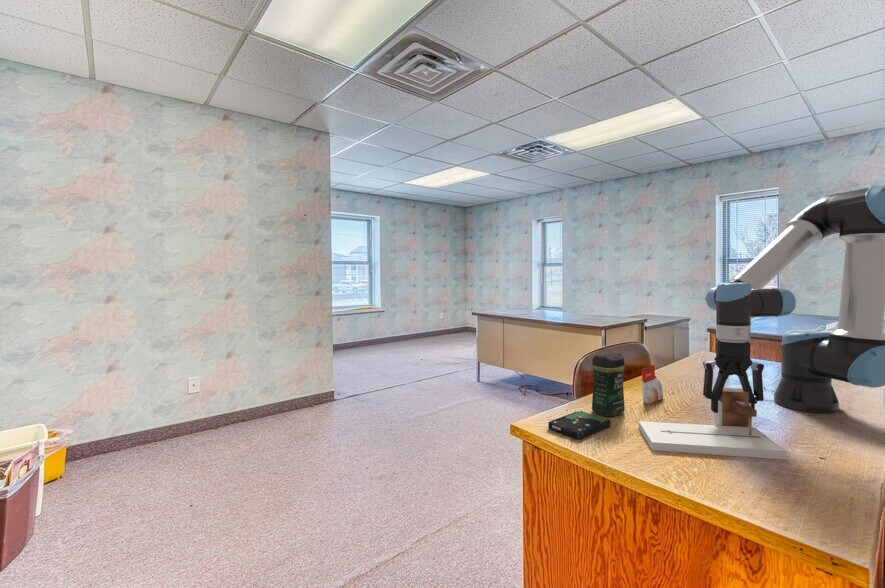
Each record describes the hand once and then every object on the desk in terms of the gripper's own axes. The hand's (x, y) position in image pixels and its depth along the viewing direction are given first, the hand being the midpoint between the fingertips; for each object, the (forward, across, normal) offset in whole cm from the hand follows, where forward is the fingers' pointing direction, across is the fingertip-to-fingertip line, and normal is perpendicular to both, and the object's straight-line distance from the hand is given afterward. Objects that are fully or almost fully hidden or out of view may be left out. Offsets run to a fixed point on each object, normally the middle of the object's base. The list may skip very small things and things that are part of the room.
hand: (732, 424), depth 108 cm
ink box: (+2, -14, +23) cm, 27 cm away
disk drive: (+2, -40, -5) cm, 40 cm away
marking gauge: (+1, 0, -4) cm, 4 cm away
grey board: (+1, -10, -10) cm, 14 cm away
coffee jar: (+2, -30, +9) cm, 31 cm away
